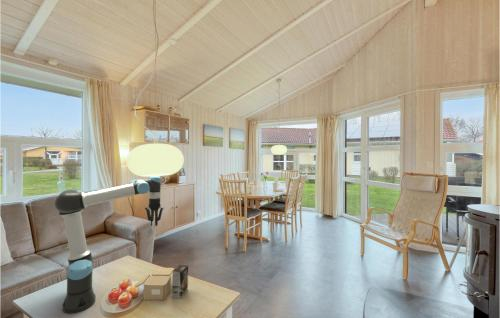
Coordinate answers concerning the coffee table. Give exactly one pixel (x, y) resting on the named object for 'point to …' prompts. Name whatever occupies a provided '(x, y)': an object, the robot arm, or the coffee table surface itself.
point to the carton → (158, 284)
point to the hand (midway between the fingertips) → (154, 230)
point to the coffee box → (180, 281)
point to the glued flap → (141, 281)
